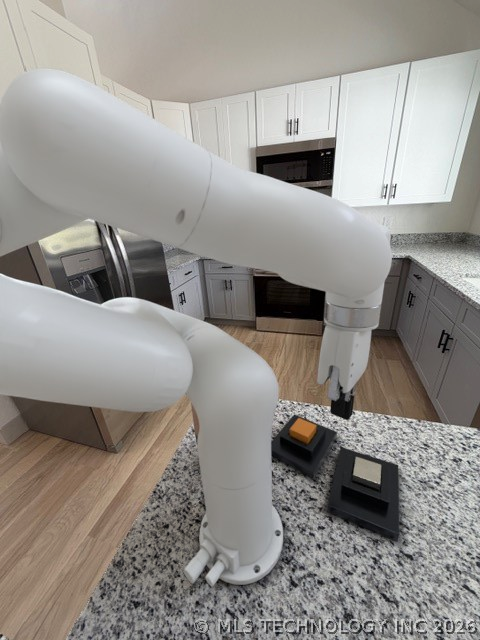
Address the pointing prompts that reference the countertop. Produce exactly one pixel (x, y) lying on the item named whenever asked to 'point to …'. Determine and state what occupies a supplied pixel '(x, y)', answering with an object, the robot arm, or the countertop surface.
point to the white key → (367, 474)
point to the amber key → (303, 430)
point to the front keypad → (366, 496)
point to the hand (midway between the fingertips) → (341, 414)
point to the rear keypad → (303, 448)
